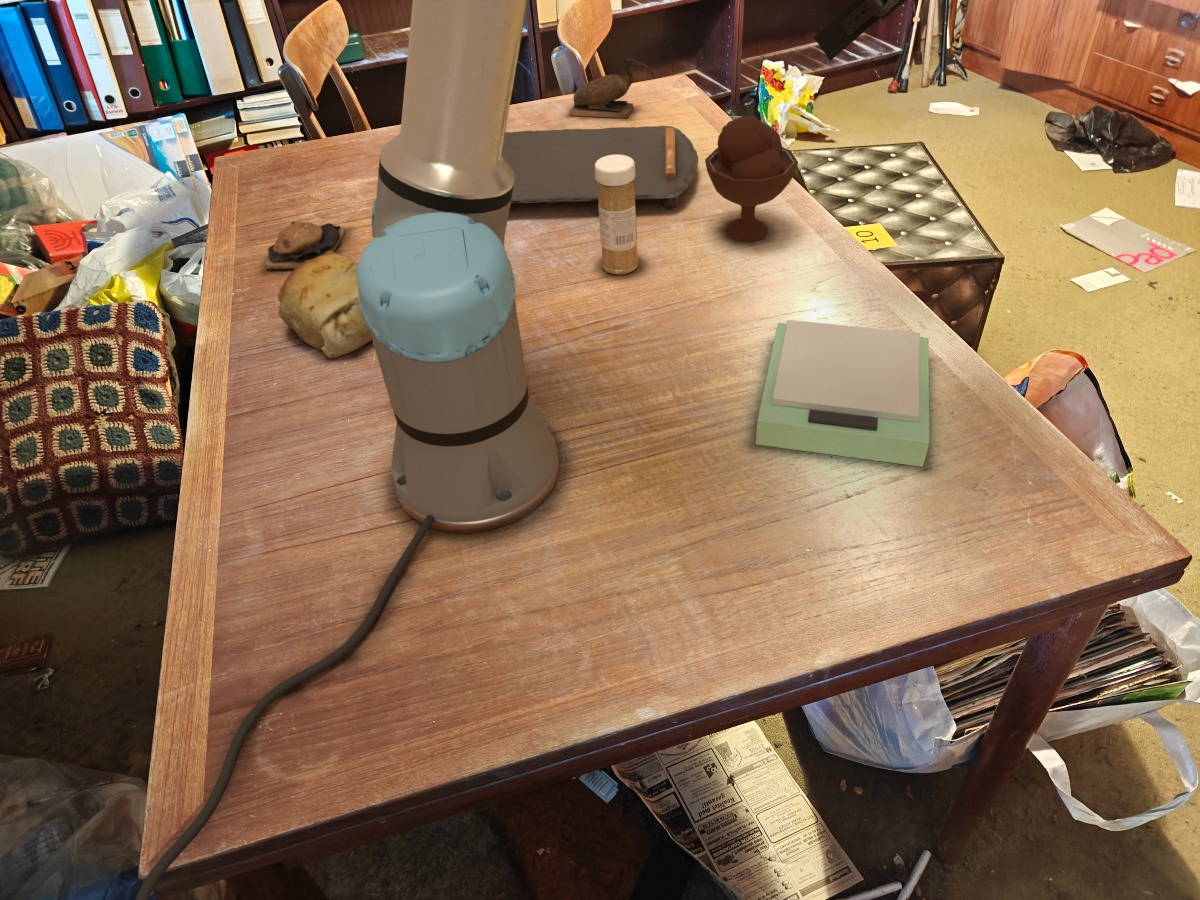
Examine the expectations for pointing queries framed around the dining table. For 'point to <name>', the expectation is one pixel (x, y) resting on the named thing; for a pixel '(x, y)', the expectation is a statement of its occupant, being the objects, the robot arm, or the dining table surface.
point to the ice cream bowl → (749, 172)
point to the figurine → (605, 95)
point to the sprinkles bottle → (617, 213)
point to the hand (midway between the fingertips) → (851, 27)
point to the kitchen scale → (847, 392)
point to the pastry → (325, 305)
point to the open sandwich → (303, 244)
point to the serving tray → (568, 160)
